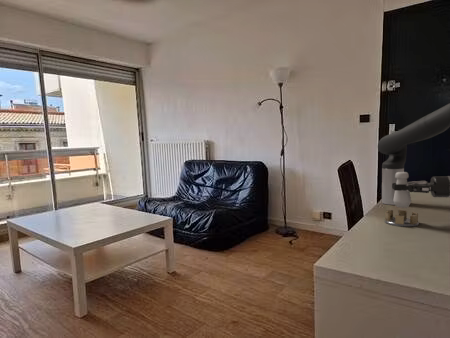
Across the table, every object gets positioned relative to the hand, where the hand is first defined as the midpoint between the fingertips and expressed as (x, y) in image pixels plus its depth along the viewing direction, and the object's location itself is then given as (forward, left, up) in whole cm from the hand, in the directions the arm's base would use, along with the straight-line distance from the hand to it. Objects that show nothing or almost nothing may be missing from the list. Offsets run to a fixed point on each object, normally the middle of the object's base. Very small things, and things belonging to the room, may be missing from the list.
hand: (393, 186), depth 112 cm
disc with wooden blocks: (+1, +3, -14) cm, 14 cm away
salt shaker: (+1, +3, -8) cm, 8 cm away
